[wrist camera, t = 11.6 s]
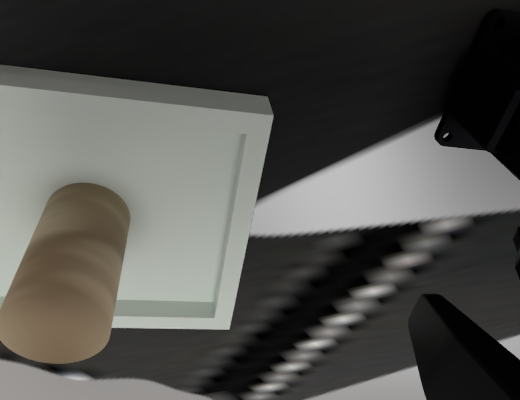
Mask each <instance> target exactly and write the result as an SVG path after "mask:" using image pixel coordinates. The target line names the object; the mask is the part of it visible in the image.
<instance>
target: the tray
mask: <svg viewBox="0 0 520 400" xmlns="http://www.w3.org/2000/svg"><path fill="white" fill-rule="evenodd" d="M273 117H274V115H273V112H272V109H271V106H270V103H269V100H268V97H267V96H258V95H250V94H242V93H233V92H225V91H217V90H208V89H200V88H192V87H183V86H175V85H167V84H158V83H150V82H142V81H133V80H125V79H117V78H108V77H100V76H92V75H83V74H75V73H67V72H58V71H50V70H42V69H33V68H25V67H17V66H8V65H0V308H1V306H2V304H3V301H4V299H5V297H6V294H7V292H8V290H9V288H10V285H11V283H12V281H13V279H14V276H15V274H16V272H17V270H18V267H19V265H20V263H21V260H22V258H23V256H24V254H25V251H26V249H27V247H28V245H29V242H30V240H31V238H32V235H33V233H34V231H35V229H36V226H37V224H38V222H39V220H40V217H41V215H42V213H43V210H44V208H45V206H46V204H47V201H48V200H49V198H50V196H51V195H52V194H53V193H54V192H55V191H56V190H58V189H60V188H61V187H64V186H66V185H69V184H74V183H93V184H97V185H101V186H104V187H106V188H108V189H110V190H112V191H113V192H115V193H116V194H117V195H119V196H120V197H121V198H122V199H123V201H124V202H125V203H126V205H127V207H128V209H129V212H130V226H129V231H128V237H127V243H126V248H125V254H124V260H123V265H122V271H121V277H120V282H119V288H118V293H117V299H116V305H115V310H114V316H113V322H112V327H111V328H163V329H226V330H229V329H230V324H231V319H232V314H233V309H234V305H235V300H236V295H237V290H238V285H239V280H240V276H241V271H242V266H243V261H244V256H245V252H246V247H247V242H248V237H249V232H250V227H251V223H252V218H253V213H254V208H255V203H256V199H257V194H258V189H259V184H260V179H261V174H262V170H263V165H264V160H265V155H266V150H267V146H268V141H269V136H270V131H271V126H272V121H273Z"/></svg>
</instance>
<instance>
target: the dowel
mask: <svg viewBox="0 0 520 400" xmlns="http://www.w3.org/2000/svg"><path fill="white" fill-rule="evenodd" d="M129 226H130V212H129V209H128V207H127V205H126V203H125V202H124V201H123V199H122V198H121V197H120V196H119V195H117V194H116V193H115V192H113V191H112V190H110V189H108V188H106V187H104V186H101V185H97V184H93V183H74V184H69V185H66V186H64V187H61V188H60V189H58V190H56V191H55V192H54V193H53V194H52V195H51V196H50V198H49V200H48V201H47V204H46V206H45V208H44V210H43V213H42V215H41V217H40V220H39V222H38V224H37V226H36V229H35V231H34V233H33V235H32V238H31V240H30V242H29V245H28V247H27V249H26V251H25V254H24V256H23V258H22V260H21V263H20V265H19V267H18V270H17V272H16V274H15V276H14V279H13V281H12V283H11V285H10V288H9V290H8V292H7V294H6V297H5V299H4V301H3V304H2V306H1V308H0V340H1V342H2V343H3V344H4V345H5V346H6V347H7V348H9V349H10V350H11V351H13V352H15V353H16V354H18V355H20V356H23V357H25V358H28V359H31V360H34V361H39V362H44V363H55V364H62V363H72V362H78V361H81V360H85V359H87V358H90V357H92V356H94V355H95V354H97V353H98V352H100V351H101V350H102V349H103V348H104V347H105V346H106V344H107V342H108V341H109V338H110V333H111V327H112V322H113V316H114V310H115V305H116V299H117V293H118V288H119V282H120V277H121V271H122V265H123V260H124V254H125V248H126V243H127V237H128V231H129Z"/></svg>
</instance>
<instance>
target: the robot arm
mask: <svg viewBox="0 0 520 400" xmlns="http://www.w3.org/2000/svg"><path fill="white" fill-rule="evenodd" d="M498 18H501V20H500V23H499V24H498V25H497V26H496V27H494V23H495V21H496V20H497V19H498ZM446 133H449V134H448V136H447V137H445V138H443V136H444V135H445V134H446ZM434 137H435V140H436V141H437V142H438V143H439V144H440V145H442V146H448V147H457V148H467V149H476V150H485V151H488V152H490V153H491V154H493V156H494V157H496V158H497V159H498V160H499V161H500V162H501V163H502V164H503V165H504V166H505V167H506V168H507V169H508V170H509V171H510V172H511V173H512V174H514V176H516V177H517V178H518V179H519V180H520V13H519V12H514V11H508V10H502V9H496V10H493V11H491V12H490V13H489V14H488V15H487V16H486V18H485V20H484V22H483V24H482V27H481V29H480V31H479V33H478V36H477V38H476V40H475V43H474V45H473V47H472V49H471V52H470V54H469V56H468V58H467V59H466V60H465V62H464V64H463V67H462V69H461V71H460V73H459V76H458V78H457V80H456V83H455V85H454V87H453V90H452V92H451V94H450V96H449V99H448V101H447V103H446V106H445V111H444V113H443V116H442V118H441V120H440V123H439V125H438V127H437V129H436V132H435V135H434ZM513 241H514V243H515V246H516V249H517V258H516V265H515V268H516V271H517V274H518V276H519V279H520V227H518V229H517V231H516V232H515V234H514V236H513ZM408 328H409V332H410V337H411V341H412V345H413V349H414V353H415V358H416V362H417V366H418V370H419V374H420V379H421V382H422V386H423V390H424V393H425V396H426V399H427V400H520V360H519V359H518V358H517V357H516V356H514V355H513V354H512V353H511V352H509V351H508V350H507V349H506V348H504V347H503V346H502V345H501V344H500V343H499V342H497V341H496V340H495V339H494V338H493V337H491V336H490V335H489V334H488V333H486V332H485V331H484V330H483V329H482V328H480V327H479V326H478V325H477V324H476V323H474V322H473V321H472V320H471V319H469V318H468V317H467V316H466V315H465V314H463V313H462V312H461V311H460V310H459V309H457V308H456V307H455V306H454V305H452V304H451V303H450V302H449V301H448V300H446V299H445V298H444V297H443V296H441V295H439V294H422V295H420V296H419V298H418V300H417V302H416V304H415V306H414V308H413V310H412V312H411V314H410V316H409V319H408Z"/></svg>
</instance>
